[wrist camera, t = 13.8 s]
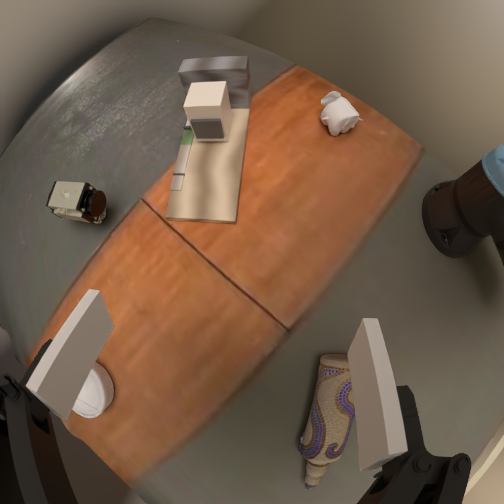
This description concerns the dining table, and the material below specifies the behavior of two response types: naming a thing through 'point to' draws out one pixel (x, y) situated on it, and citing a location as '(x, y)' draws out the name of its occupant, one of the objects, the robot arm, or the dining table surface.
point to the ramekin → (95, 393)
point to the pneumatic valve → (77, 202)
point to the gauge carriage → (209, 111)
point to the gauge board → (212, 148)
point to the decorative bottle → (328, 417)
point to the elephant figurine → (338, 113)
